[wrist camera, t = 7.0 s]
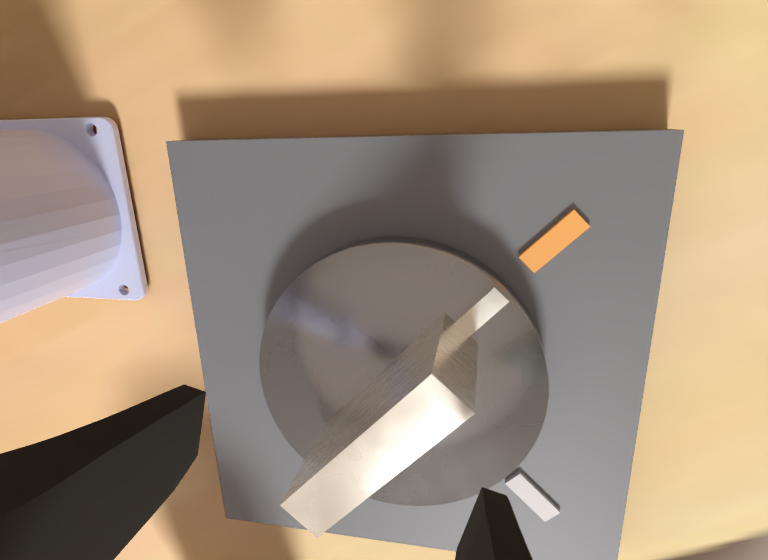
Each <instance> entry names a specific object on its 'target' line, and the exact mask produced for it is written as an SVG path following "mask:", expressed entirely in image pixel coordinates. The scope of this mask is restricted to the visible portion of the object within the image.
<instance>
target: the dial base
mask: <svg viewBox="0 0 768 560" xmlns="http://www.w3.org/2000/svg"><path fill="white" fill-rule="evenodd" d="M683 134H684V130H675V129H647V130H603V131H559V132H514V133H470V134H426V135H381V136H337V137H293V138H249V139H204V140H180V141H166V143H167V150H168V156H169V162H170V169H171V175H172V181H173V188H174V194H175V200H176V207H177V213H178V219H179V225H180V232H181V238H182V244H183V251H184V257H185V263H186V270H187V276H188V282H189V289H190V295H191V301H192V307H193V314H194V320H195V326H196V333H197V339H198V345H199V352H200V358H201V364H202V371H203V377H204V383H205V390H206V396H207V402H208V408H209V415H210V421H211V427H212V434H213V440H214V446H215V453H216V459H217V465H218V472H219V478H220V484H221V490H222V497H223V503H224V509H225V516H226V518H230V519H236V520H243V521H250V522H257V523H264V524H271V525H278V526H285V527H291V528H298V529H305V530H307V529H306V528H305V527H304V526H303V525H302V524H301V523H299V522H298V521H297V520H296V519H295V518H294V517H293V516H291V515H290V514H289V513H288V512H287V511H286V510H284V509H283V508H282V507H281V506H280V504H281V502H282V500H283V498H284V497H285V495H286V493H287V491H288V489H289V487H290V486H291V484H292V482H293V480H294V478H295V476H296V474H297V473H298V471H299V469H300V467H301V465H302V463H303V461H304V459H303V458H302V457H301V456H300V455H299V454H298V453H297V452H296V451H295V450H294V449H293V448H292V446H291V445H290V444H289V443H288V441H287V440H286V439H285V437H284V436H283V434H282V433H281V431H280V430H279V428H278V427H277V425H276V423H275V421H274V419H273V417H272V415H271V413H270V411H269V408H268V405H267V403H266V400H265V397H264V393H263V389H262V384H261V379H260V367H259V357H260V345H261V340H262V335H263V331H264V328H265V325H266V322H267V320H268V317H269V315H270V313H271V311H272V309H273V307H274V305H275V303H276V302H277V300H278V299H279V297H280V296H281V295H282V294H283V292H284V291H285V290H286V288H287V287H288V286H289V285H290V284H291V283H292V282H293V281H294V280H295V279H296V278H297V277H298V276H299V275H301V274H302V273H303V272H304V271H305V270H307V269H308V268H309V267H310V266H311V265H313V264H314V263H316V262H317V261H318V260H320V259H321V258H323V257H324V256H326V255H327V254H329V253H331V252H333V251H335V250H337V249H339V248H341V247H344V246H347V245H350V244H352V243H355V242H358V241H363V240H368V239H373V238H381V237H412V238H419V239H424V240H429V241H434V242H437V243H440V244H444V245H447V246H450V247H453V248H455V249H457V250H459V251H461V252H463V253H466V254H468V255H470V256H472V257H473V258H475V259H476V260H478V261H480V262H481V263H483V264H484V265H486V266H487V267H489V268H490V269H491V270H492V271H494V272H495V273H496V274H497V275H498V276H500V277H501V278H502V279H503V280H504V281H505V282H506V283H507V284H508V285H509V286H510V287H511V289H512V290H513V291H514V292H515V293H516V294H517V295H518V297H519V298H520V300H521V301H522V303H523V304H524V306H525V307H526V308H527V310H528V312H529V314H530V316H531V318H532V320H533V322H534V324H535V326H536V328H537V331H538V334H539V337H540V340H541V343H542V347H543V351H544V356H545V360H546V366H547V372H548V379H549V398H548V406H547V413H546V416H545V420H544V423H543V426H542V430H541V432H540V434H539V436H538V438H537V440H536V442H535V444H534V446H533V447H532V449H531V450H530V452H529V453H528V455H527V456H526V458H525V459H524V460H523V461H522V462H521V463H520V464H519V466H518V467H517V468H516V469H515V470H514V471H513V472H512V473H510V474H509V475H508V476H507V477H506V478H504V479H503V480H502V481H501V482H499V483H497V484H496V485H494V486H492V487H491V488H489V490H492V491H495V492H498V493H501V494H504V495H507V497H508V499H509V501H510V503H511V506H512V508H513V511H514V514H515V516H516V519H517V522H518V524H519V527H520V529H521V532H522V535H523V537H524V540H525V542H526V544H527V547H528V549H529V552H530V554H531V556H532V559H533V560H617V559H618V552H619V546H620V539H621V533H622V526H623V520H624V514H625V507H626V501H627V494H628V488H629V481H630V475H631V468H632V462H633V456H634V449H635V443H636V436H637V430H638V423H639V417H640V411H641V404H642V398H643V391H644V385H645V378H646V372H647V365H648V359H649V353H650V346H651V340H652V333H653V327H654V320H655V314H656V308H657V301H658V295H659V288H660V282H661V275H662V269H663V262H664V256H665V250H666V243H667V237H668V230H669V224H670V217H671V211H672V204H673V198H674V192H675V185H676V179H677V172H678V166H679V159H680V153H681V147H682V140H683ZM478 495H479V494H477V495H474V496H472V497H470V498H466V499H463V500H460V501H456V502H453V503H447V504H441V505H432V506H406V505H397V504H391V503H385V502H381V501H377V500H374V499H370V498H367V499H366V500H364V501H363V502H362V503H361V504H359V505H358V506H357V507H356V508H354V509H353V510H352V511H351V512H349V513H348V514H347V515H345V516H344V517H343V518H342V519H340V520H339V521H338V522H337V523H335V524H334V525H333V526H331V527H330V528H329V529H328V530H326V531H325V532H326V533H333V534H340V535H346V536H353V537H360V538H367V539H374V540H381V541H388V542H395V543H401V544H408V545H415V546H422V547H429V548H436V549H443V550H450V551H457V547H458V544H459V542H460V539H461V537H462V534H463V532H464V530H465V527H466V525H467V522H468V520H469V517H470V515H471V512H472V510H473V507H474V505H475V502H476V500H477V497H478Z"/></svg>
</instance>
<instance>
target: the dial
mask: <svg viewBox="0 0 768 560" xmlns="http://www.w3.org/2000/svg"><path fill="white" fill-rule="evenodd" d="M259 367H260V379H261V384H262V389H263V393H264V397H265V400H266V403H267V405H268V408H269V411H270V413H271V415H272V417H273V419H274V421H275V423H276V425H277V427H278V428H279V430H280V431H281V433H282V434H283V436H284V437H285V439H286V440H287V441H288V443H289V444H290V445H291V446H292V448H293V449H294V450H295V451H296V452H297V453H298V454H299V455H300V456H301V457H302V458H303V459H304V461H303V463H302V465H301V467H300V469H299V471H298V473H297V474H296V476H295V478H294V480H293V482H292V484H291V486H290V487H289V489H288V491H287V493H286V495H285V497H284V498H283V500H282V502H281V504H280V506H281V507H282V508H283V509H284V510H286V511H287V512H288V513H289V514H290V515H291V516H293V517H294V518H295V519H296V520H297V521H298V522H299V523H301V524H302V525H303V526H304V527H305V528H306V529H307V530H309V531H310V532H311V533H312V534H313V535H314V536H315V537H319V536H320V535H321V534H323V533H324V532H325V531H326V530H328V529H329V528H330V527H331V526H333V525H334V524H335V523H337V522H338V521H339V520H340V519H342V518H343V517H344V516H345V515H347V514H348V513H349V512H351V511H352V510H353V509H354V508H356V507H357V506H358V505H359V504H361V503H362V502H363V501H364V500H366V499H367V498H370V499H374V500H377V501H381V502H385V503H391V504H397V505H406V506H432V505H441V504H447V503H453V502H456V501H460V500H463V499H466V498H470V497H472V496H474V495H477V494H479V493H480V490H481V488H482V487H484V488H486V489H489V488H491V487H492V486H494V485H496V484H497V483H499V482H501V481H502V480H503V479H504V478H506V477H507V476H508V475H509V474H510V473H512V472H513V471H514V470H515V469H516V468H517V467H518V466H519V464H520V463H521V462H522V461H523V460H524V459H525V458H526V456H527V455H528V453H529V452H530V450H531V449H532V447H533V446H534V444H535V442H536V440H537V438H538V436H539V434H540V432H541V430H542V426H543V423H544V420H545V416H546V413H547V406H548V398H549V379H548V372H547V366H546V360H545V356H544V351H543V347H542V343H541V340H540V337H539V334H538V331H537V328H536V326H535V324H534V322H533V320H532V318H531V316H530V314H529V312H528V310H527V308H526V307H525V306H524V304H523V303H522V301H521V300H520V298H519V297H518V295H517V294H516V293H515V292H514V291H513V290H512V289H511V287H510V286H509V285H508V284H507V283H506V282H505V281H504V280H503V279H502V278H501V277H500V276H498V275H497V274H496V273H495V272H494V271H492V270H491V269H490V268H489V267H487V266H486V265H484V264H483V263H481V262H480V261H478V260H476V259H475V258H473V257H472V256H470V255H468V254H466V253H463V252H461V251H459V250H457V249H455V248H453V247H450V246H447V245H444V244H440V243H437V242H434V241H429V240H424V239H419V238H412V237H381V238H373V239H368V240H363V241H358V242H355V243H352V244H350V245H347V246H344V247H341V248H339V249H337V250H335V251H333V252H331V253H329V254H327V255H326V256H324V257H323V258H321V259H320V260H318V261H317V262H316V263H314V264H313V265H311V266H310V267H309V268H308V269H307V270H305V271H304V272H303V273H302V274H301V275H299V276H298V277H297V278H296V279H295V280H294V281H293V282H292V283H291V284H290V285H289V286H288V287H287V288H286V290H285V291H284V292H283V294H282V295H281V296H280V297H279V299H278V300H277V302H276V303H275V305H274V307H273V309H272V311H271V313H270V315H269V317H268V320H267V322H266V325H265V328H264V331H263V335H262V340H261V345H260V357H259Z"/></svg>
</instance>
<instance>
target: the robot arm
mask: <svg viewBox="0 0 768 560" xmlns="http://www.w3.org/2000/svg"><path fill="white" fill-rule="evenodd" d="M94 125H95V126H96V129H97V134H95V133H94V131H93V126H94ZM125 285H126V286H127V287H128V289H129V292H128V291H127V290H126V289H125ZM147 293H148V286H147V280H146V275H145V270H144V264H143V259H142V253H141V248H140V243H139V237H138V232H137V227H136V221H135V216H134V210H133V205H132V200H131V194H130V189H129V184H128V178H127V173H126V167H125V162H124V157H123V151H122V146H121V141H120V135H119V130H118V127H117V124H116V123H115V121H114V120H113V119H111V118H109V117H77V118H48V119H19V120H0V324H1V323H3V322H5V321H8V320H10V319H12V318H15V317H17V316H20V315H22V314H24V313H27V312H29V311H31V310H34V309H36V308H39V307H41V306H43V305H46V304H48V303H50V302H53V301H55V300H58V299H60V298H62V297H81V298H100V299H120V300H140V299H142V298H144V297H145V296H146V295H147ZM205 395H206V392H204V391H201V390H198V389H196V388H193V387H190V386H187V385H182V386H179V387H177V388H174V389H172V390H170V391H167V392H165V393H163V394H160V395H158V396H156V397H154V398H151V399H149V400H147V401H144V402H142V403H140V404H138V405H135V406H133V407H130V408H128V409H126V410H123V411H121V412H119V413H116V414H114V415H111V416H109V417H107V418H104V419H102V420H99V421H96V422H94V423H91V424H88V425H86V426H83V427H80V428H78V429H75V430H72V431H70V432H67V433H64V434H62V435H59V436H56V437H53V438H50V439H48V440H44V441H41V442H38V443H35V444H32V445H29V446H25V447H22V448H19V449H15V450H12V451H9V452H5V453H1V454H0V560H114V559H115V557H116V556H117V555H118V554H119V553H120V552H121V551H122V549H123V548H124V547H125V546H126V545H127V544H128V543H129V541H130V540H131V539H132V538H133V537H134V536H135V535H136V533H137V532H138V531H139V530H140V529H141V528H142V527H143V525H144V524H145V523H146V522H147V521H148V520H149V519H150V517H151V516H152V515H153V514H154V513H155V512H156V511H157V509H158V508H159V507H160V506H161V505H162V504H163V502H164V501H165V500H166V499H167V498H168V497H169V495H170V494H171V493H172V492H173V491H174V489H175V488H176V486H177V485H178V484H179V482H180V481H181V479H182V478H183V476H184V475H185V473H186V472H187V470H188V469H189V467H190V466H191V464H192V463H193V461H194V460H195V458H196V457H197V455H198V448H199V440H200V433H201V425H202V418H203V410H204V403H205ZM455 560H533V559H532V556H531V554H530V552H529V549H528V547H527V544H526V542H525V540H524V537H523V535H522V532H521V529H520V527H519V524H518V522H517V519H516V516H515V514H514V511H513V508H512V506H511V503H510V501H509V499H508V497H507V495H504V494H501V493H498V492H495V491H492V490H489V489H486V488H484V487H482V488H481V490H480V493H479V495H478V497H477V500H476V502H475V505H474V507H473V510H472V512H471V515H470V517H469V520H468V522H467V525H466V527H465V530H464V532H463V534H462V537H461V539H460V542H459V544H458V547H457V551H456V558H455Z"/></svg>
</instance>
